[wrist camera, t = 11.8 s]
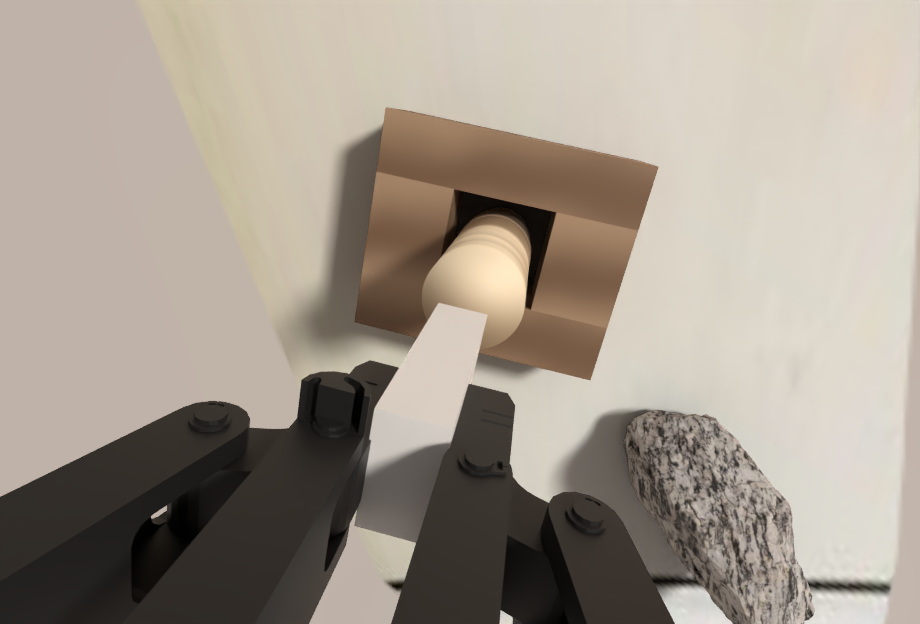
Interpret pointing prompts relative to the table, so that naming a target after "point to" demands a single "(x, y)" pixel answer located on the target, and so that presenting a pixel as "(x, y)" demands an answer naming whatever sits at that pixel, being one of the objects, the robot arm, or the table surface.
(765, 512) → the rock
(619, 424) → the table surface
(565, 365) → the board
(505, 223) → the peg
